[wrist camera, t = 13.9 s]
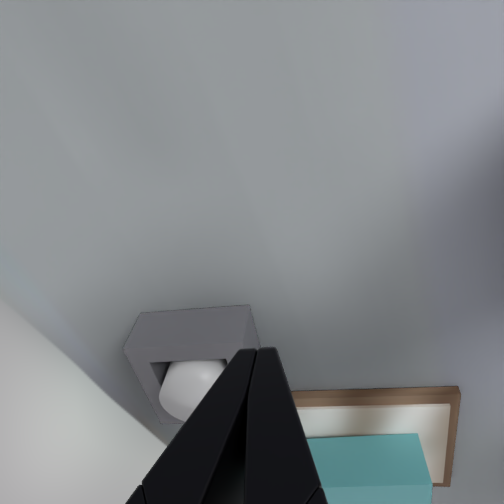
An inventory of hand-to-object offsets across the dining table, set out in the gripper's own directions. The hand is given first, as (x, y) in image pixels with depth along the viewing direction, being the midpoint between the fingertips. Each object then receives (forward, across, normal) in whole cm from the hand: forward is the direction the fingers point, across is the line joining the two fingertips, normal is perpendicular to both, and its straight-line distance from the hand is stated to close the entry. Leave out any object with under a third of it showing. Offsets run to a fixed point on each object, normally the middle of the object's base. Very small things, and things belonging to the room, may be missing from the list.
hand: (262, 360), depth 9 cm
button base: (+12, +7, +12) cm, 18 cm away
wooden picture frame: (+12, -1, +22) cm, 25 cm away
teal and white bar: (+11, -1, +22) cm, 25 cm away
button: (+11, +7, +12) cm, 18 cm away
